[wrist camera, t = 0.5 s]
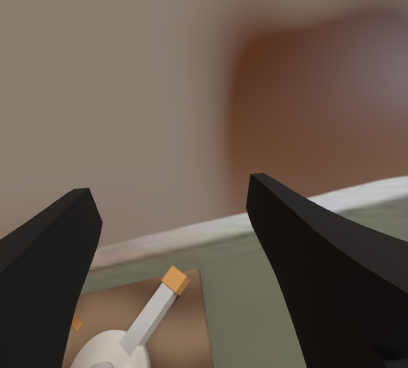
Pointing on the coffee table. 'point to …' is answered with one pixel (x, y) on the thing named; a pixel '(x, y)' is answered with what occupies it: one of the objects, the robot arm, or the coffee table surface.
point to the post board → (164, 332)
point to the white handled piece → (132, 331)
